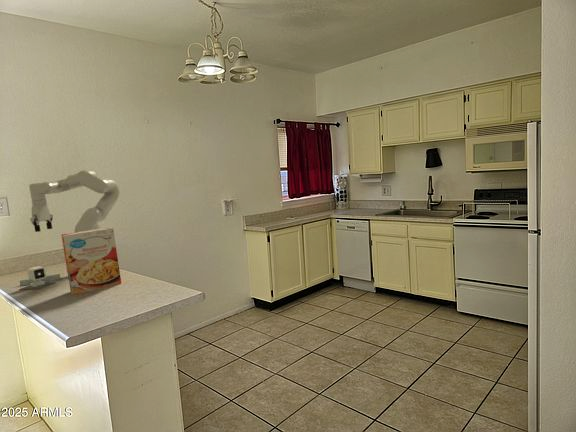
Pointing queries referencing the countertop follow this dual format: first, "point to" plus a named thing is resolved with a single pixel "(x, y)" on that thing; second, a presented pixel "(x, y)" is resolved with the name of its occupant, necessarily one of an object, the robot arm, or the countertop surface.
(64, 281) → the countertop surface
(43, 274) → the security camera
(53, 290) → the countertop surface
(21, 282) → the low wall
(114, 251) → the pasta box
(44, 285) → the mat
